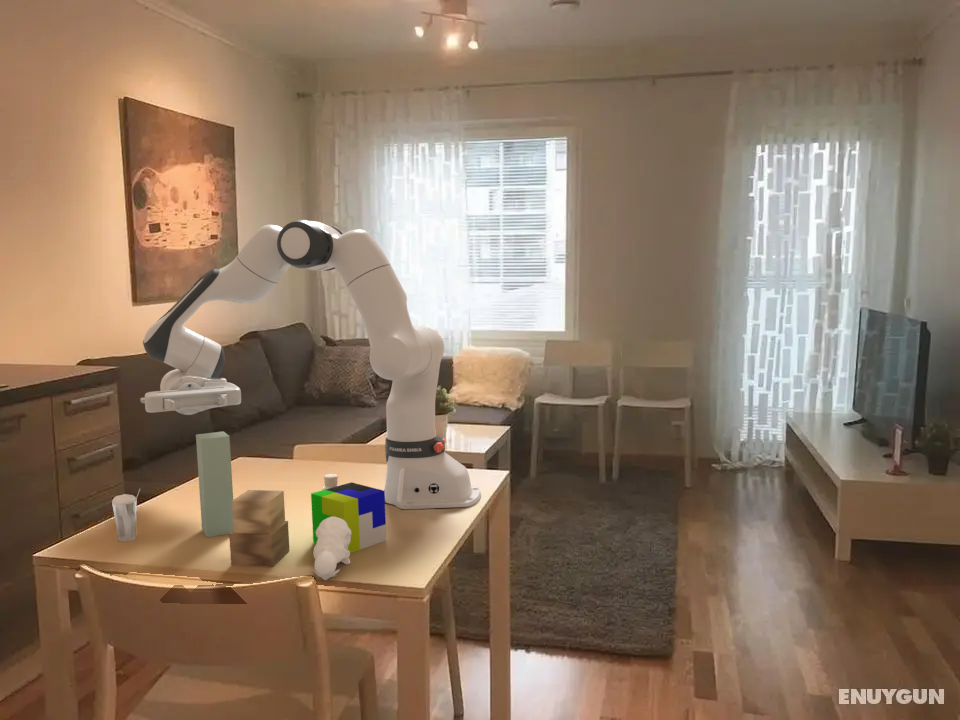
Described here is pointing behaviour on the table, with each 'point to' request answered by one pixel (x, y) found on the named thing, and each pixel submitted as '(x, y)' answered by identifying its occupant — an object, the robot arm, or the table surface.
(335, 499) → the puzzle toy
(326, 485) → the pepper shaker
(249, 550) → the tower bottom
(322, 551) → the white animal figurine
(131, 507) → the milkshake
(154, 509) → the table surface
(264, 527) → the tower top
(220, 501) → the pillar
